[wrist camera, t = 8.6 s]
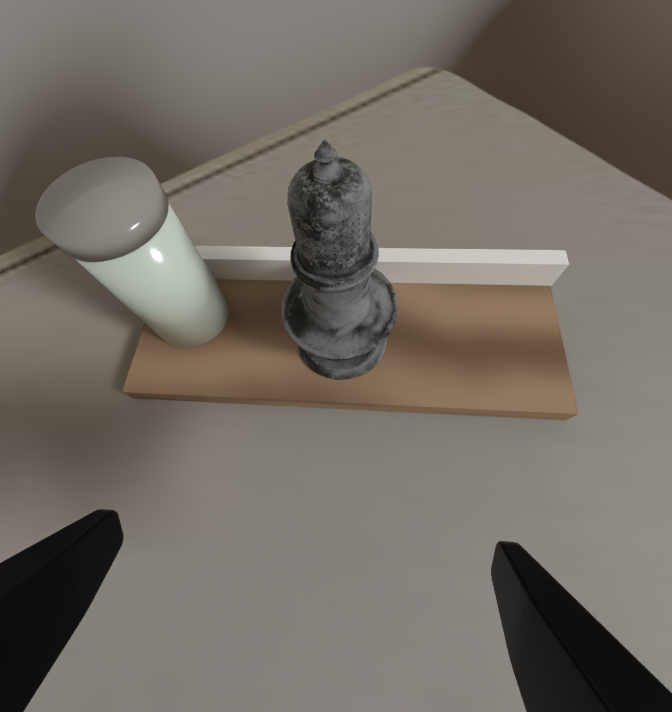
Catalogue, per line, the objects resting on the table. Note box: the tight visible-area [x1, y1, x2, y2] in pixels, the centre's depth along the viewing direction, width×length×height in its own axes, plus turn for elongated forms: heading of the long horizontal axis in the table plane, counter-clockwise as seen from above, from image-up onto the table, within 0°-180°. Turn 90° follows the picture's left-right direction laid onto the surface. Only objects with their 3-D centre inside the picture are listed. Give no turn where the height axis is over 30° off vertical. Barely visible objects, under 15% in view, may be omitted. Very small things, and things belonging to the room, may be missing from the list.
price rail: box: [195, 246, 569, 286], centre depth 22 cm, size 1×25×3 cm, turn 86°
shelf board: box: [122, 279, 578, 420], centre depth 22 cm, size 9×25×1 cm, turn 86°
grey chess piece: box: [281, 140, 398, 380], centre depth 15 cm, size 6×6×12 cm
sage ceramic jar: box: [35, 157, 229, 348], centre depth 18 cm, size 5×5×9 cm
